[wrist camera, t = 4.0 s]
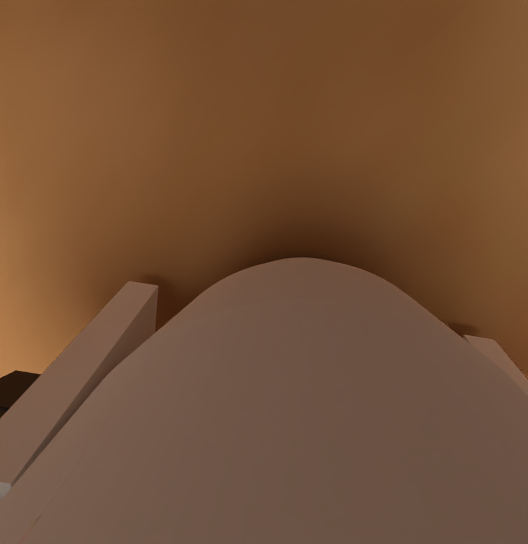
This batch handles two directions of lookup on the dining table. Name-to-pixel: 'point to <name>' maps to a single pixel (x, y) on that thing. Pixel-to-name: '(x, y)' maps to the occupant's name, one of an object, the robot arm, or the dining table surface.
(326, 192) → the dining table surface
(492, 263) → the dining table surface
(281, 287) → the cup
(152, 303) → the robot arm
